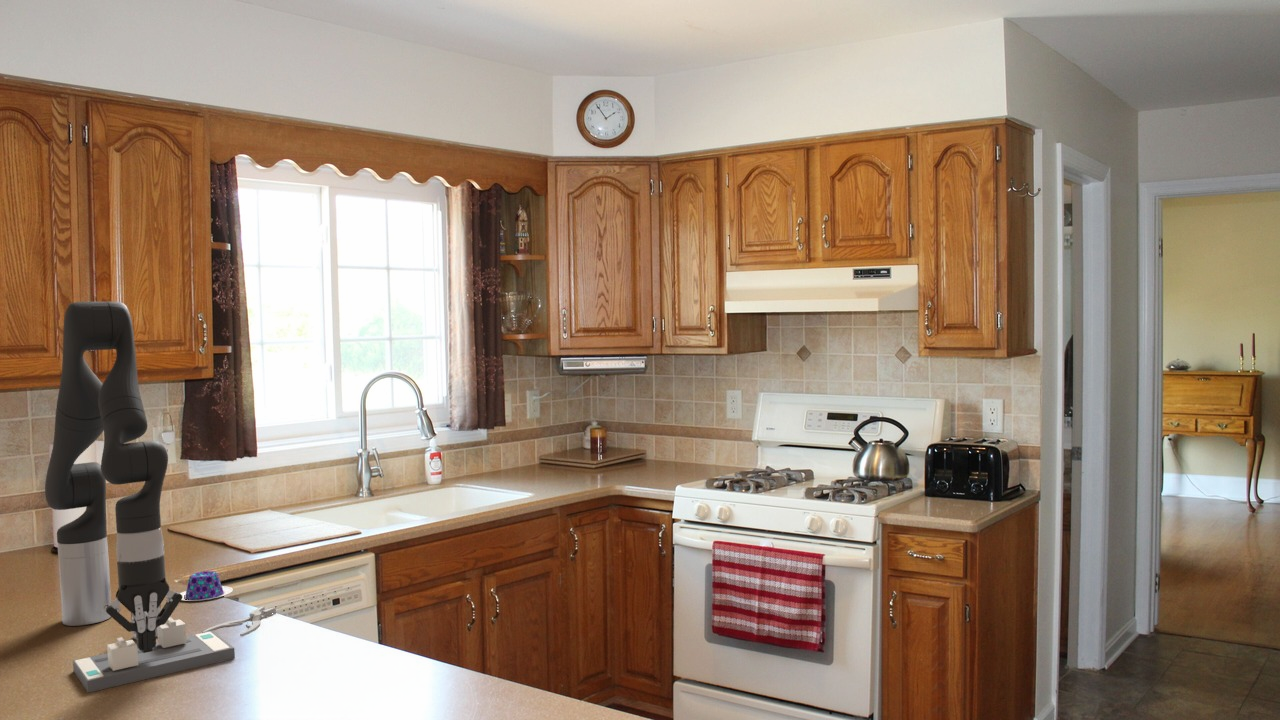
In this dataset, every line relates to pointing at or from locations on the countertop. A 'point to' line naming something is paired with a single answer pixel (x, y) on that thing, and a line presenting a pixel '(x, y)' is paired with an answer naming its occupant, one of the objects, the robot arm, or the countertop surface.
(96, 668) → the switch panel
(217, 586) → the pudding
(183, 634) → the tab
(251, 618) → the pliers
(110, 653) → the tab
